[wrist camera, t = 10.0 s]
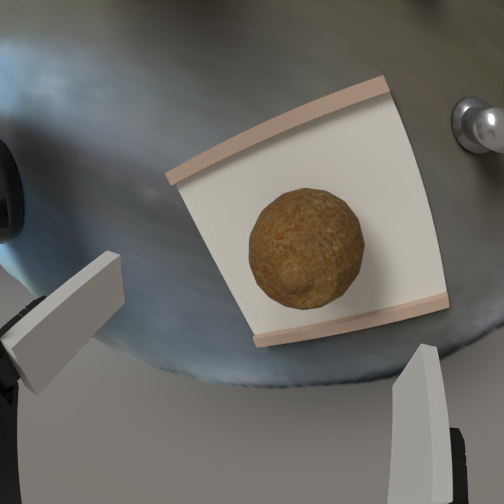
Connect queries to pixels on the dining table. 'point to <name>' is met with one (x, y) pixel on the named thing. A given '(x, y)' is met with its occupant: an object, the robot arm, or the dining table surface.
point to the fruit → (306, 248)
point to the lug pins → (478, 125)
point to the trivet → (337, 183)
